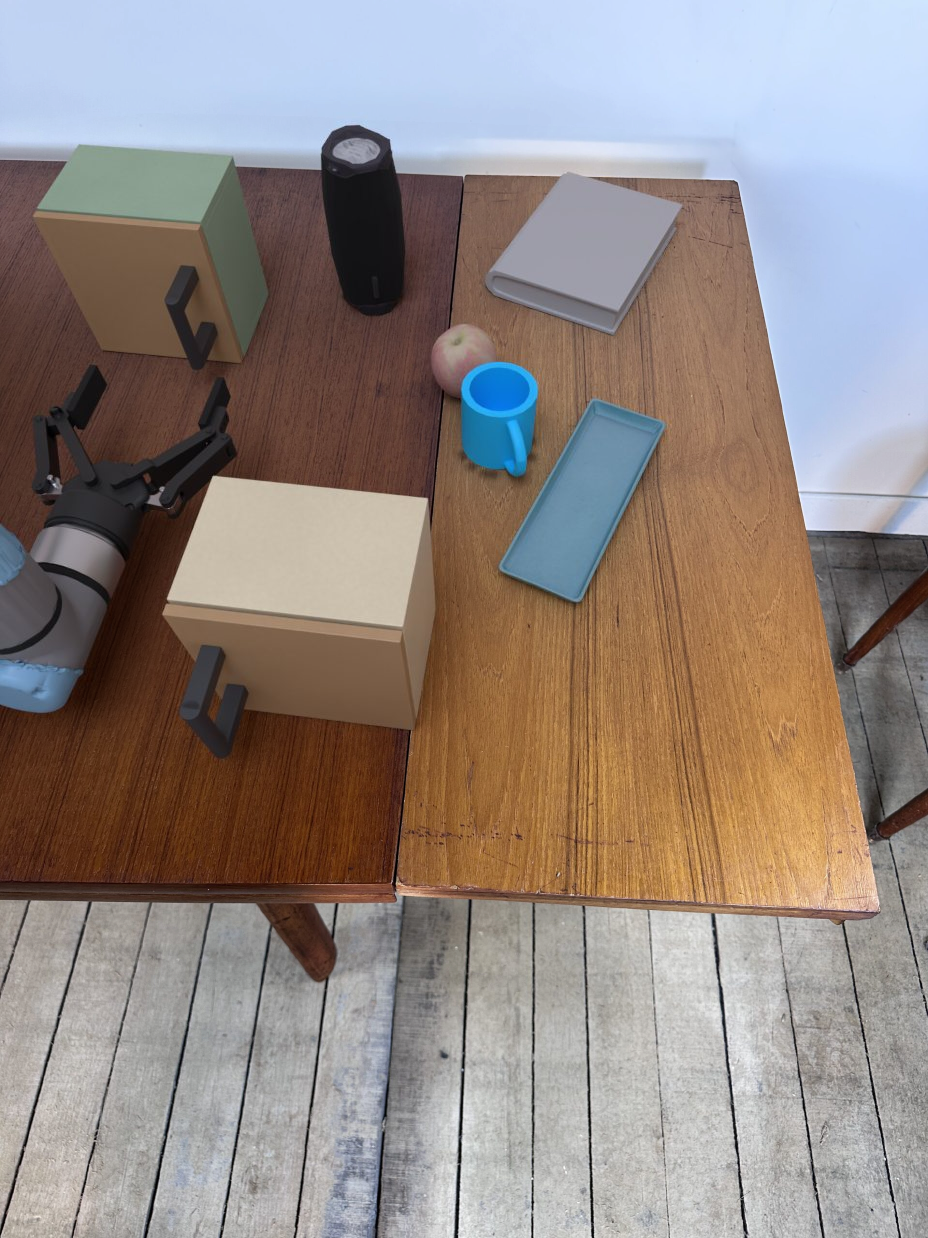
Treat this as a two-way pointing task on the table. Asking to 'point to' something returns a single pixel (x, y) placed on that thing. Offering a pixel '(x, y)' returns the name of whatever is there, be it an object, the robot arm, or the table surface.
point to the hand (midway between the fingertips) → (161, 380)
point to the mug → (498, 416)
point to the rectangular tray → (582, 500)
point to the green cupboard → (173, 210)
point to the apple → (460, 356)
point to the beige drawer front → (288, 671)
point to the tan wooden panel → (143, 285)
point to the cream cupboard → (314, 559)
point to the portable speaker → (364, 217)
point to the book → (585, 252)
